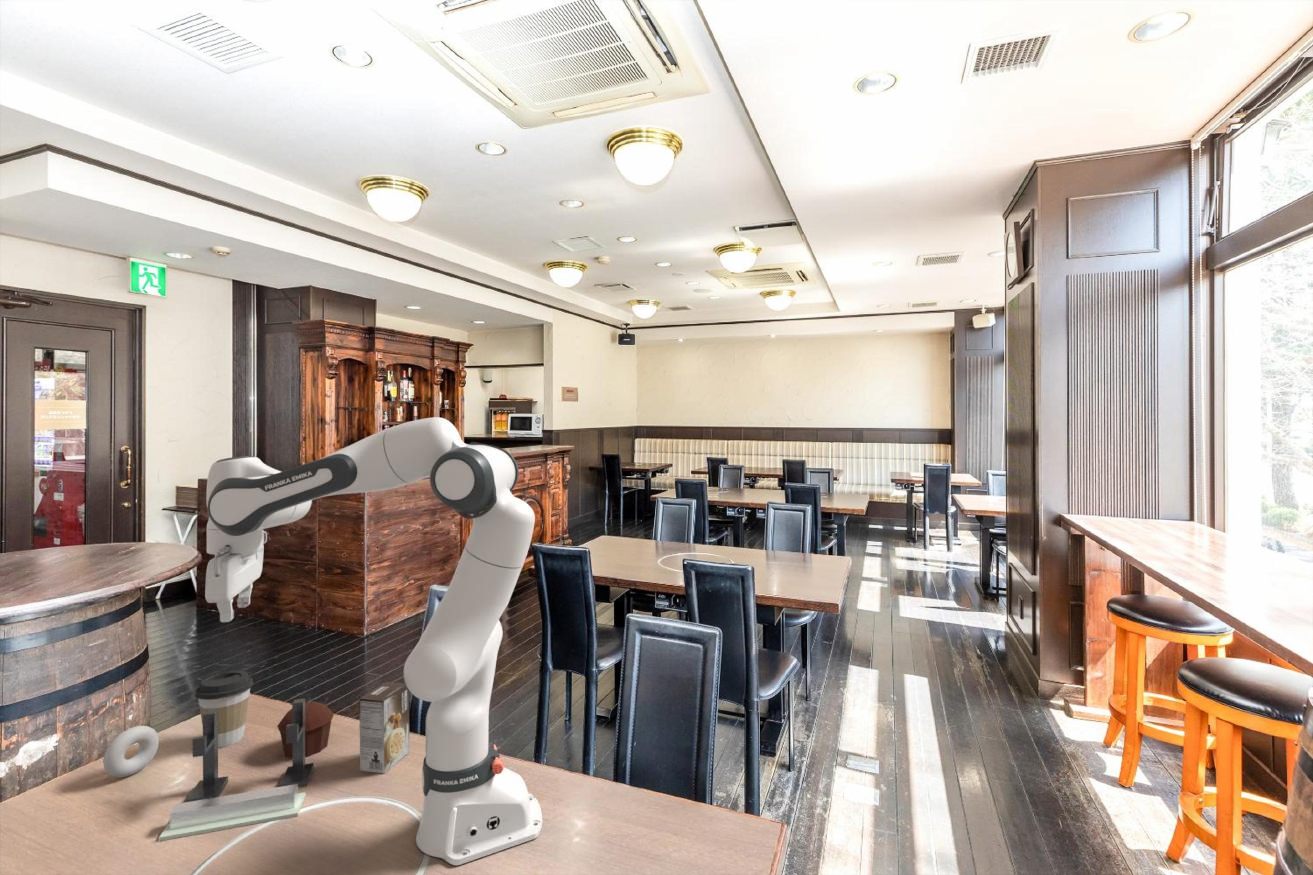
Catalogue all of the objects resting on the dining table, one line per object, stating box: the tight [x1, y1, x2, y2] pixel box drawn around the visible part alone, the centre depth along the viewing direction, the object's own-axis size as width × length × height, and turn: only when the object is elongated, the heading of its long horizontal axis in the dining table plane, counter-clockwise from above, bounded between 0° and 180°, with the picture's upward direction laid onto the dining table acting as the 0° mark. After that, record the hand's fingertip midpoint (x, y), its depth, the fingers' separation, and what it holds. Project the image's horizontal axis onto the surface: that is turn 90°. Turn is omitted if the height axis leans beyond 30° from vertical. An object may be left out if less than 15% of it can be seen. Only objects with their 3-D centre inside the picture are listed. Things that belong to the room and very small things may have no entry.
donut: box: [102, 725, 160, 778], centre depth 130 cm, size 10×4×10 cm, turn 161°
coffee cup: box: [194, 670, 254, 749], centre depth 144 cm, size 11×11×15 cm
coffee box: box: [358, 681, 410, 774], centre depth 135 cm, size 9×6×16 cm
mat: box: [158, 792, 307, 842], centre depth 116 cm, size 22×7×1 cm, turn 109°
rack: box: [185, 698, 315, 802], centre depth 125 cm, size 21×8×16 cm, turn 109°
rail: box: [169, 784, 299, 830], centre depth 116 cm, size 20×3×3 cm, turn 109°
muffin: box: [276, 701, 334, 759], centre depth 141 cm, size 12×11×10 cm
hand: (235, 613), depth 115 cm, fingers open, 8 cm apart
